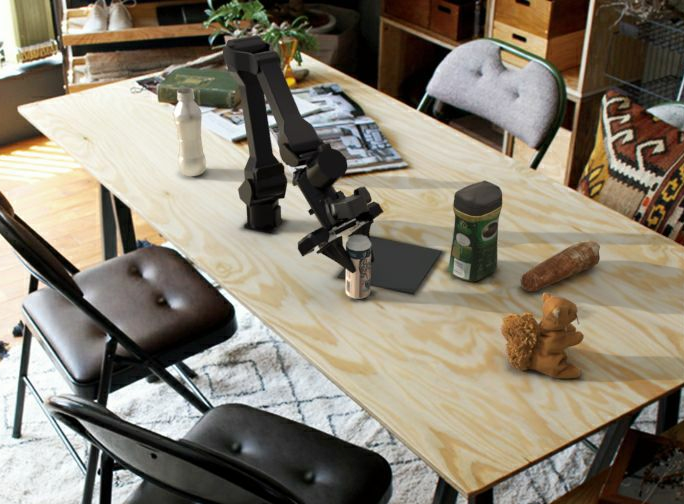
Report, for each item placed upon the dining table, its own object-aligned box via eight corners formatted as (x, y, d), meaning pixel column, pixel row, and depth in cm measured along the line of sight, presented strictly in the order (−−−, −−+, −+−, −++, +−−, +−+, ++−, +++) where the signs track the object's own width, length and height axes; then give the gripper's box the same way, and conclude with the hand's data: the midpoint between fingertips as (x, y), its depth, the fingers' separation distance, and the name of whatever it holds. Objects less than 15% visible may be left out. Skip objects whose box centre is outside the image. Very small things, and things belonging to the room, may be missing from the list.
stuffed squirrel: (584, 379, 179) (595, 316, 171) (504, 381, 178) (511, 318, 170) (570, 346, 187) (581, 284, 179) (494, 348, 186) (501, 286, 178)
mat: (337, 277, 204) (337, 276, 204) (369, 237, 218) (369, 235, 218) (413, 294, 200) (413, 293, 200) (441, 251, 214) (441, 250, 213)
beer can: (367, 302, 198) (368, 247, 190) (343, 298, 198) (343, 244, 191) (372, 289, 201) (373, 235, 194) (348, 286, 202) (349, 232, 195)
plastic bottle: (212, 171, 241) (206, 89, 230) (194, 182, 237) (186, 98, 225) (191, 164, 244) (184, 82, 232) (172, 175, 240) (164, 92, 228)
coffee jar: (473, 255, 213) (480, 173, 201) (502, 270, 208) (511, 186, 197) (441, 271, 207) (446, 187, 196) (470, 287, 203) (478, 202, 192)
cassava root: (600, 269, 209) (604, 245, 206) (532, 298, 200) (536, 274, 196) (578, 256, 213) (582, 232, 210) (510, 284, 204) (513, 260, 200)
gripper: (307, 194, 182) (352, 270, 183) (377, 162, 194) (419, 233, 194) (278, 219, 191) (321, 291, 192) (346, 186, 202) (387, 255, 203)
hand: (363, 267), depth 195 cm, fingers closed on beer can, 5 cm apart
